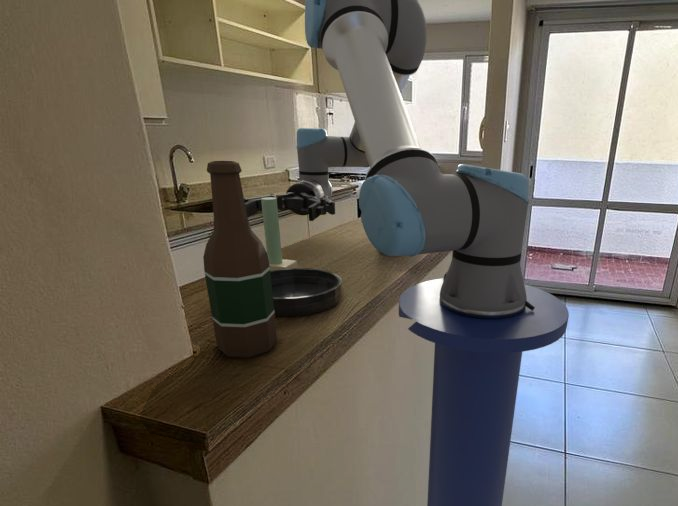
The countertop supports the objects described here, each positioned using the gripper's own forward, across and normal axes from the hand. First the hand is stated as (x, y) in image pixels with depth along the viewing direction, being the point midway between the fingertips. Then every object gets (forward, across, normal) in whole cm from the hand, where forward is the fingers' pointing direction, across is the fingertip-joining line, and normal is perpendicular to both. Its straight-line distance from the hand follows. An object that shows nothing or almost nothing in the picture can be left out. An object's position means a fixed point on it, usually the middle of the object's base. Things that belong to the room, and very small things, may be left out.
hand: (276, 213), depth 89 cm
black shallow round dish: (+17, -8, -12) cm, 22 cm away
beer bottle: (+35, -6, -12) cm, 38 cm away
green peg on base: (+3, 0, -12) cm, 12 cm away
